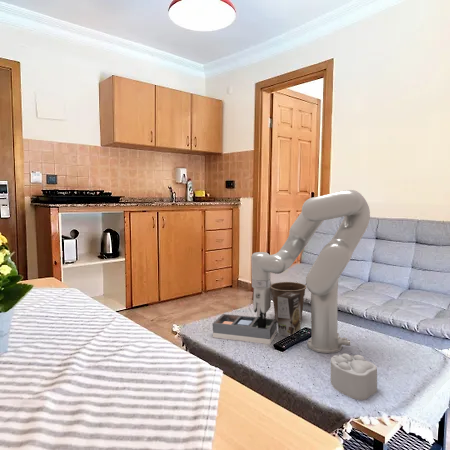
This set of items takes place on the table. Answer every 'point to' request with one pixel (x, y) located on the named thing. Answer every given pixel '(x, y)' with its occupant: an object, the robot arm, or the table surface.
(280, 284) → the plant pot
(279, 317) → the coffee box
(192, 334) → the table surface
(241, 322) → the key slate
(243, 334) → the frame
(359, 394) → the lumpy-topped squat cylinder
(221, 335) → the base
